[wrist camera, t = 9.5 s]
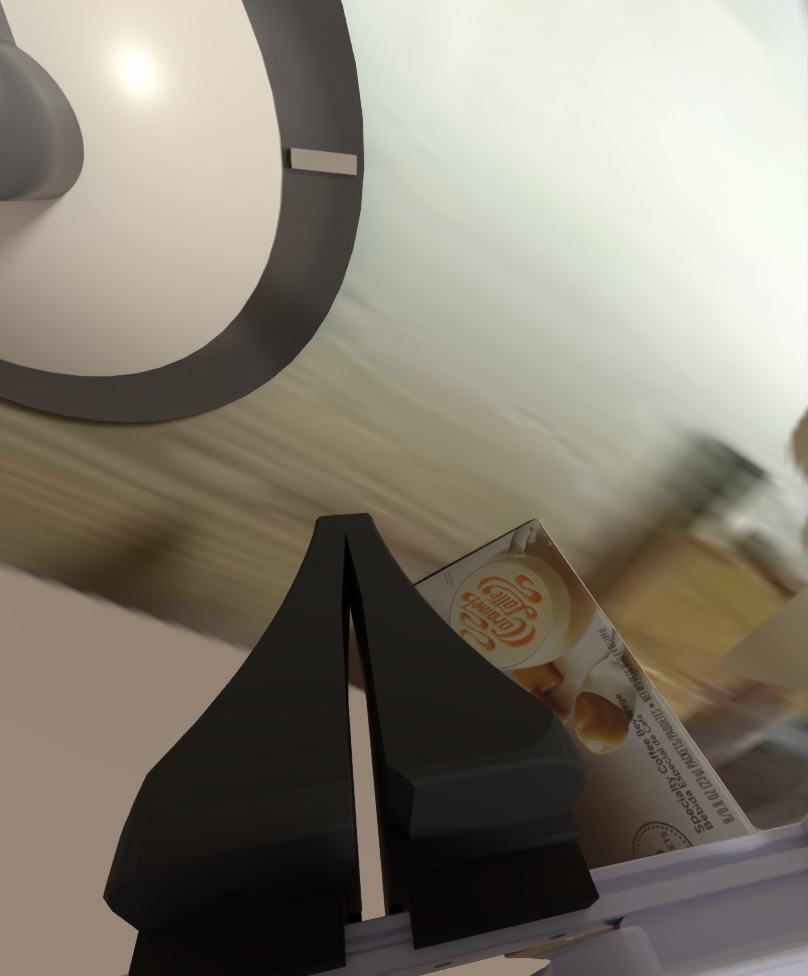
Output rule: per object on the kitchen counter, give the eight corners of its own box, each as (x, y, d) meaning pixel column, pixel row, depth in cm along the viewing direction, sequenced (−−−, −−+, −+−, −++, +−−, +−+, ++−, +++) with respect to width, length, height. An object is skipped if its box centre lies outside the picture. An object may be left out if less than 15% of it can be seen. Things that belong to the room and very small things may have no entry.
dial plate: (-121, 410, 16) (-149, 424, 15) (-870, -747, 6) (-1094, -924, 5) (356, 413, 19) (358, 425, 19) (372, -337, 9) (378, -398, 8)
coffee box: (453, 633, 30) (557, 967, 17) (407, 586, 27) (494, 962, 14) (572, 571, 29) (786, 890, 16) (539, 512, 25) (782, 861, 12)
